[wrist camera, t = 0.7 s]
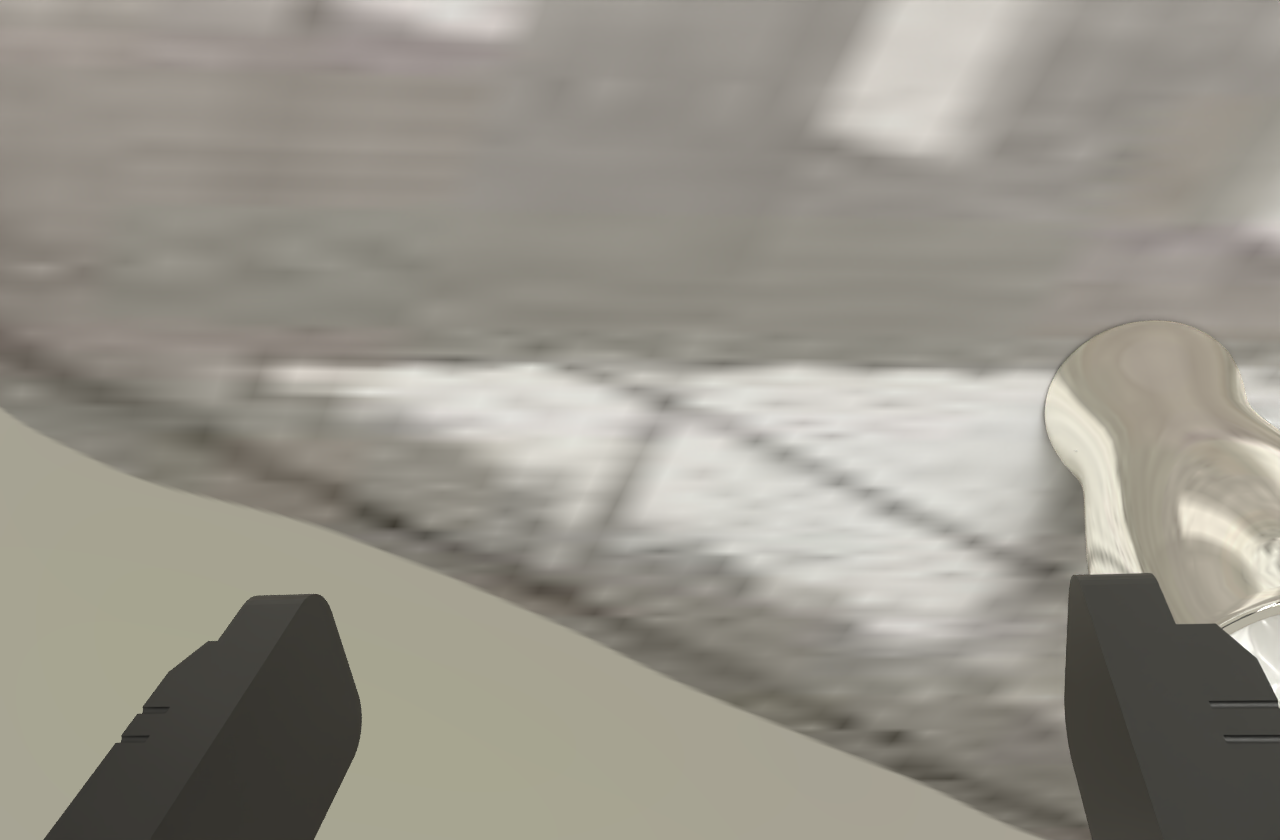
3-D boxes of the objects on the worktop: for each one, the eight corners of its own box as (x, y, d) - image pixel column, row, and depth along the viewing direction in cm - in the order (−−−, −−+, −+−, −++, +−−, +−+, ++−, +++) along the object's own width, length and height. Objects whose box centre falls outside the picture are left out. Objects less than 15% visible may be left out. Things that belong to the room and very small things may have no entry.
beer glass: (1164, 261, 35) (1370, 524, 22) (1302, 406, 37) (1573, 734, 24) (985, 402, 38) (1072, 709, 25) (1119, 532, 40) (1269, 885, 26)
